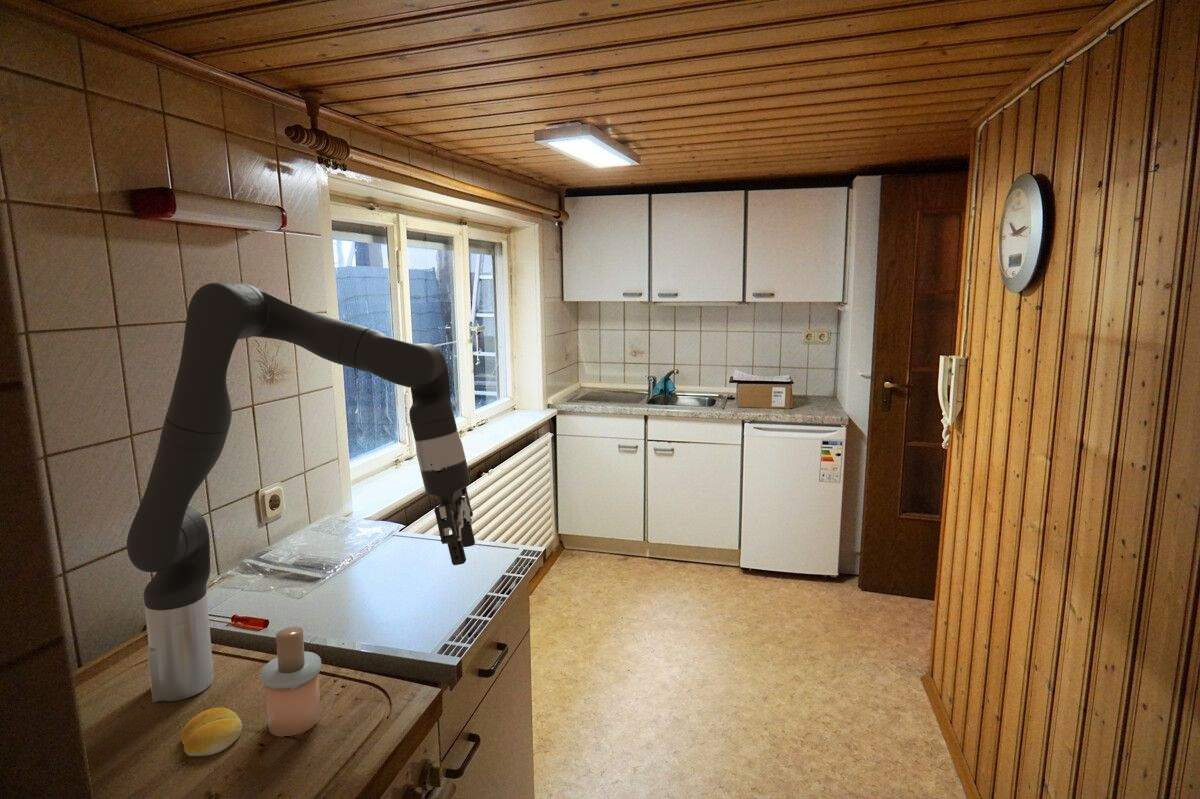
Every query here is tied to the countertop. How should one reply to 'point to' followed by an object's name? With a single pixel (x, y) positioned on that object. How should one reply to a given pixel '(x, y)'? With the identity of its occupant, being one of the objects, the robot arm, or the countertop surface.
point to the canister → (293, 708)
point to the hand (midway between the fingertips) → (464, 554)
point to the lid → (290, 661)
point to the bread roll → (211, 732)
